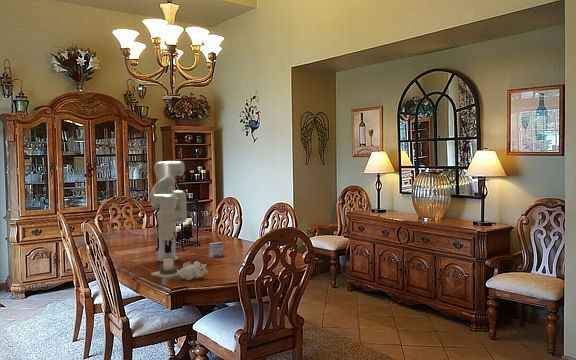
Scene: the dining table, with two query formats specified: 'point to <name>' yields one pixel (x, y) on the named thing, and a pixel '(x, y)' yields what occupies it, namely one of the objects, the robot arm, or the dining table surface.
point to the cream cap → (168, 264)
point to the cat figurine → (192, 270)
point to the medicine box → (215, 249)
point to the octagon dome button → (166, 273)
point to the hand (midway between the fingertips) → (168, 252)
